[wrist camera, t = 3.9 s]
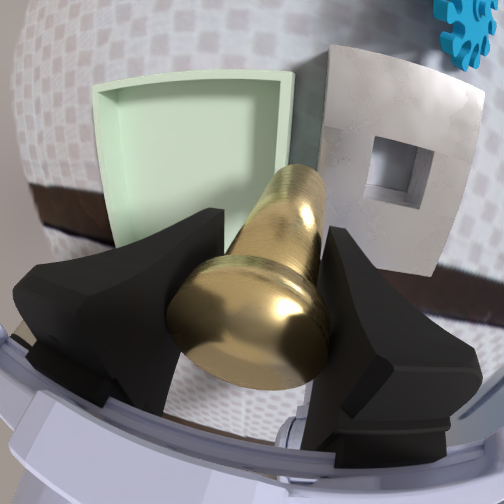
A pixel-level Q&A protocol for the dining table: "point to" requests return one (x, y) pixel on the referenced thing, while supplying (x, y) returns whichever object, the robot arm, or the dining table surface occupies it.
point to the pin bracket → (403, 130)
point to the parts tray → (190, 145)
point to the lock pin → (262, 293)
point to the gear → (466, 29)
